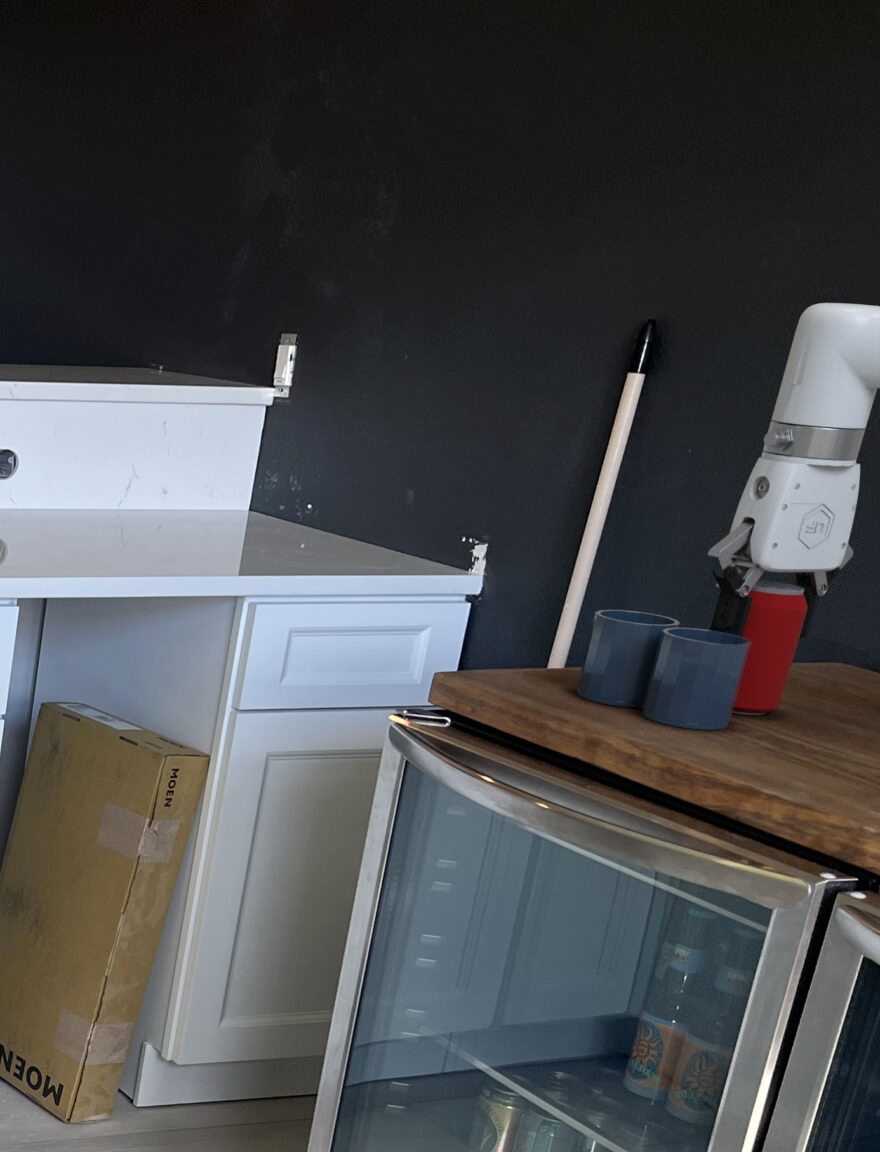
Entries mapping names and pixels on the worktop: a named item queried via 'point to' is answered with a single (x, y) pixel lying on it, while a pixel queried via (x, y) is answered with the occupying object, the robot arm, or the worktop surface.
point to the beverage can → (770, 645)
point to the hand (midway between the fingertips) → (758, 633)
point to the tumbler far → (621, 656)
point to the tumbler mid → (695, 678)
